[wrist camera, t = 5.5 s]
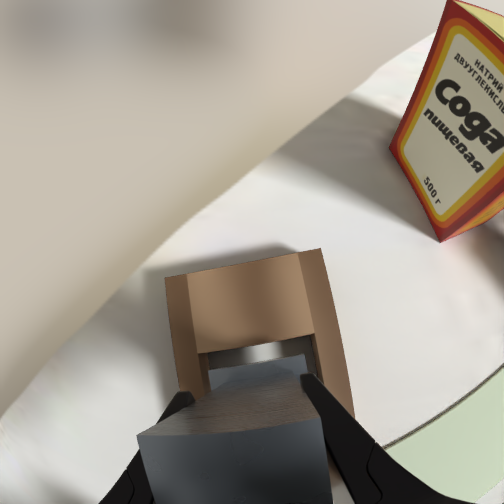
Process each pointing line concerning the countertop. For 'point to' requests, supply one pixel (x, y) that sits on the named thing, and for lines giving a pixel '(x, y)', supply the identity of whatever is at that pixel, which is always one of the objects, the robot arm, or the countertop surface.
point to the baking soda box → (457, 122)
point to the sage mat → (460, 445)
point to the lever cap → (242, 441)
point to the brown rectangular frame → (256, 316)
